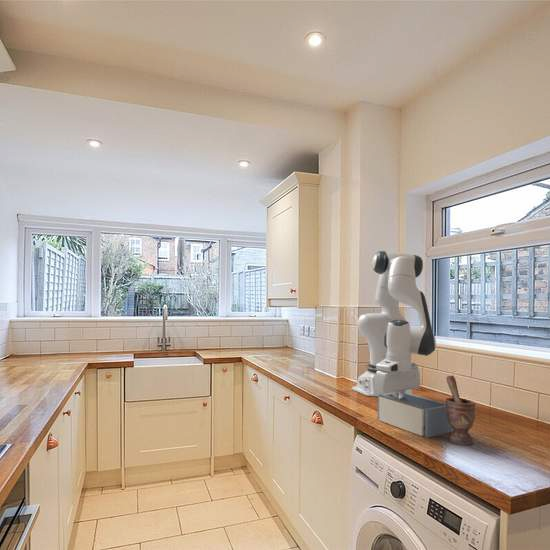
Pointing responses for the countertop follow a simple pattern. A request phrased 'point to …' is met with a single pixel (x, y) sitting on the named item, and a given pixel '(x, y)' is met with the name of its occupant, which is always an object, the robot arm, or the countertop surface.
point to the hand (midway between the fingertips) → (398, 402)
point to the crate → (429, 414)
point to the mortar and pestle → (459, 415)
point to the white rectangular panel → (401, 414)
